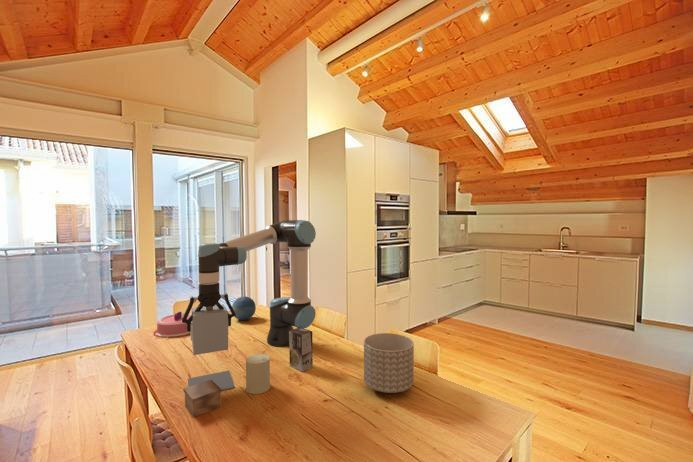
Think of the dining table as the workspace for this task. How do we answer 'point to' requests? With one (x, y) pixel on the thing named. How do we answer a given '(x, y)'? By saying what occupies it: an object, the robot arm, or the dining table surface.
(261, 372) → the can
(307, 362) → the coffee box
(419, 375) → the dining table surface
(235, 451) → the dining table surface
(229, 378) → the mat
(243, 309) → the decorative ball
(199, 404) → the box
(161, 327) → the cake
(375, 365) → the planter
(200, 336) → the cover
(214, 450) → the dining table surface
